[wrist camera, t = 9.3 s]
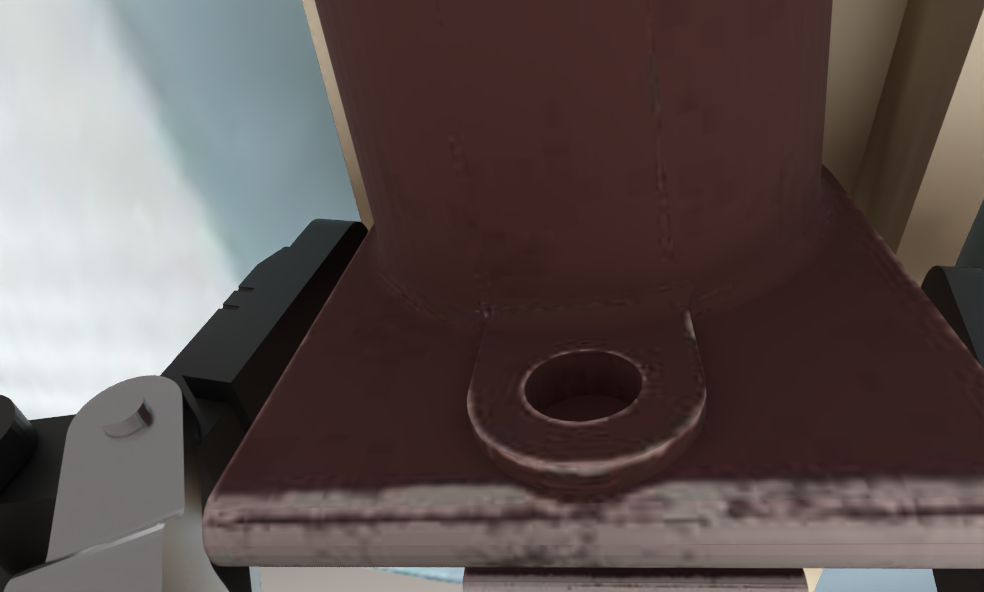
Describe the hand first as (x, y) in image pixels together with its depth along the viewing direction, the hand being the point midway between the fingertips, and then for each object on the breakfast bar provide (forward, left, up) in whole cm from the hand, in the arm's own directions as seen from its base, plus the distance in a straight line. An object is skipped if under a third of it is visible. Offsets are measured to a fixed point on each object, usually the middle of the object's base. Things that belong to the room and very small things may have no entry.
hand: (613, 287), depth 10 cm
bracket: (-1, +1, -4) cm, 4 cm away
